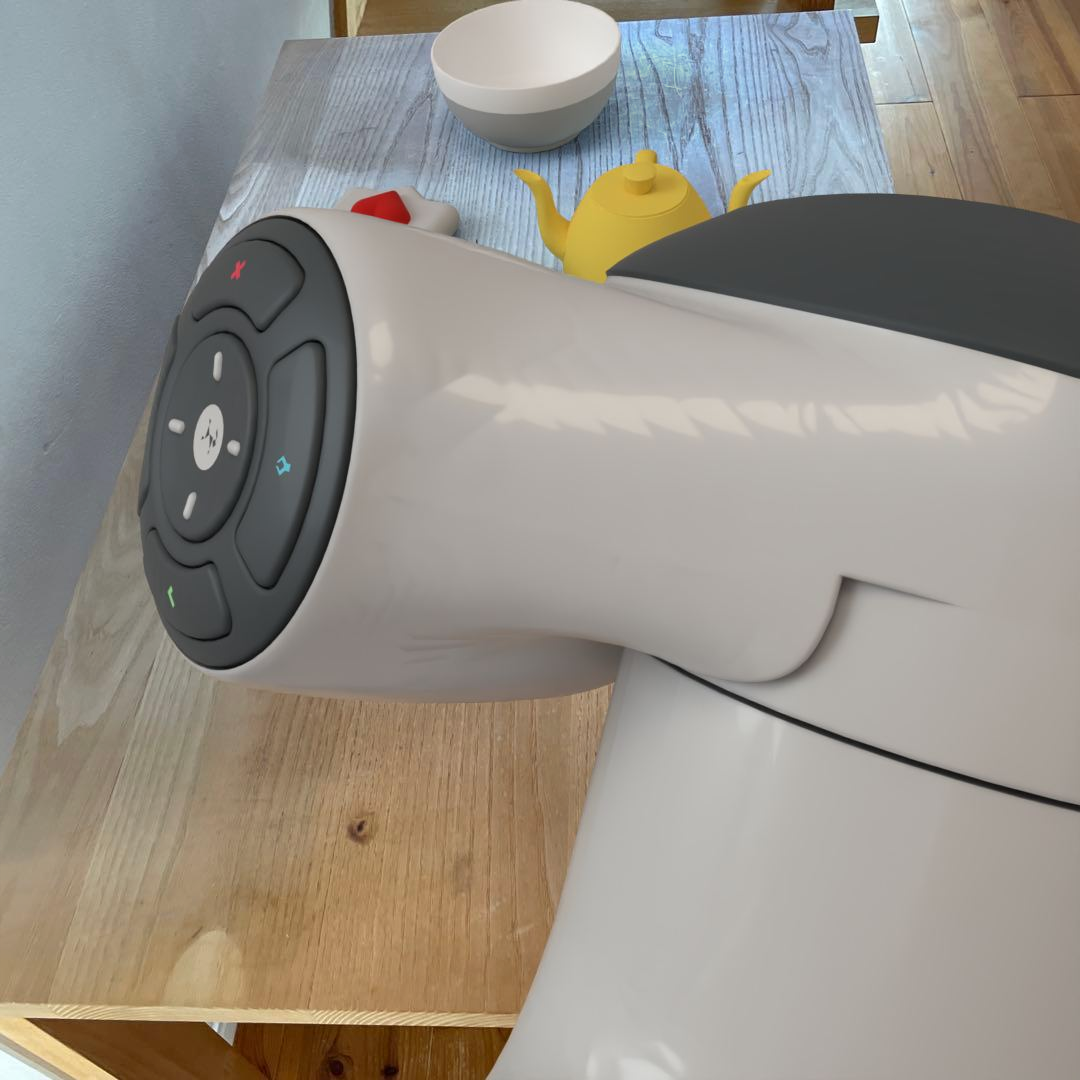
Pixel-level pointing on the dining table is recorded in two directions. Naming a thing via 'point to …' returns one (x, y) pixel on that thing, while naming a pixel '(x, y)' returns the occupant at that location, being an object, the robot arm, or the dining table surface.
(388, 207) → the icon
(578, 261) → the teapot
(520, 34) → the bowl
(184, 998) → the dining table surface
